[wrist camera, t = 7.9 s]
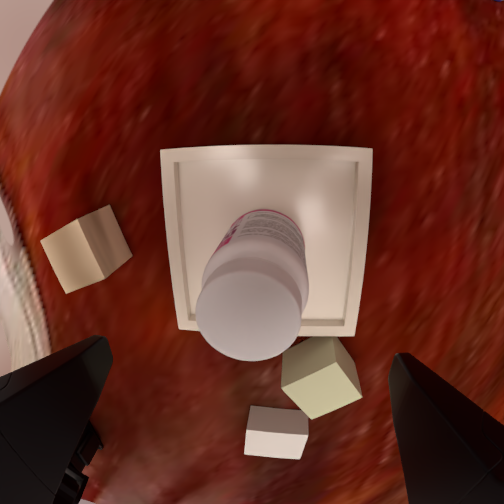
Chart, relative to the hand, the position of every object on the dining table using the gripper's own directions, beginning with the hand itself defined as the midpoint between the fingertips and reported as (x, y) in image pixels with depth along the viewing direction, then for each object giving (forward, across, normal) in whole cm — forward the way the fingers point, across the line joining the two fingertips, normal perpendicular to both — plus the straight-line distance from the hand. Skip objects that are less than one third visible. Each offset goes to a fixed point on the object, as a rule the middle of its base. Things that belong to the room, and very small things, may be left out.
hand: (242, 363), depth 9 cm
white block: (+12, -1, +17) cm, 21 cm away
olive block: (+12, -4, +9) cm, 15 cm away
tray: (+12, 0, 0) cm, 12 cm away
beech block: (+12, +12, 0) cm, 17 cm away
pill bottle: (+11, 0, 0) cm, 11 cm away
